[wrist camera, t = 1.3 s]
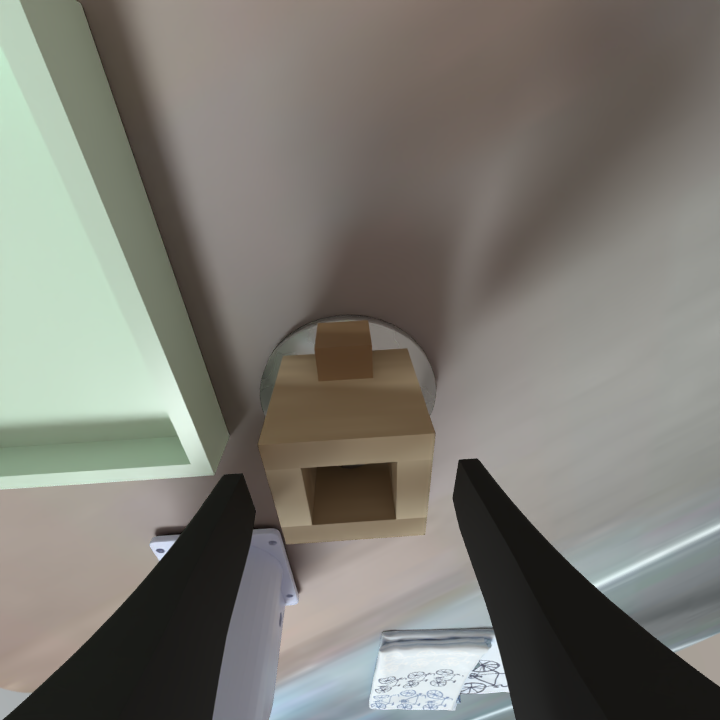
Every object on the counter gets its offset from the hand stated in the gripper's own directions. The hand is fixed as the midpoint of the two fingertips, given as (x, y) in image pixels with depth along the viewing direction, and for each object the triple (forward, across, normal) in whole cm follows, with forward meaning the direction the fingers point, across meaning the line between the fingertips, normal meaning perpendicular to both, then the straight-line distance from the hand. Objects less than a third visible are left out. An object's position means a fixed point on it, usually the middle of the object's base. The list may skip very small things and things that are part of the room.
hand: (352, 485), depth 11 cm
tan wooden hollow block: (+5, 0, 0) cm, 5 cm away
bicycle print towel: (+6, -10, +38) cm, 40 cm away
